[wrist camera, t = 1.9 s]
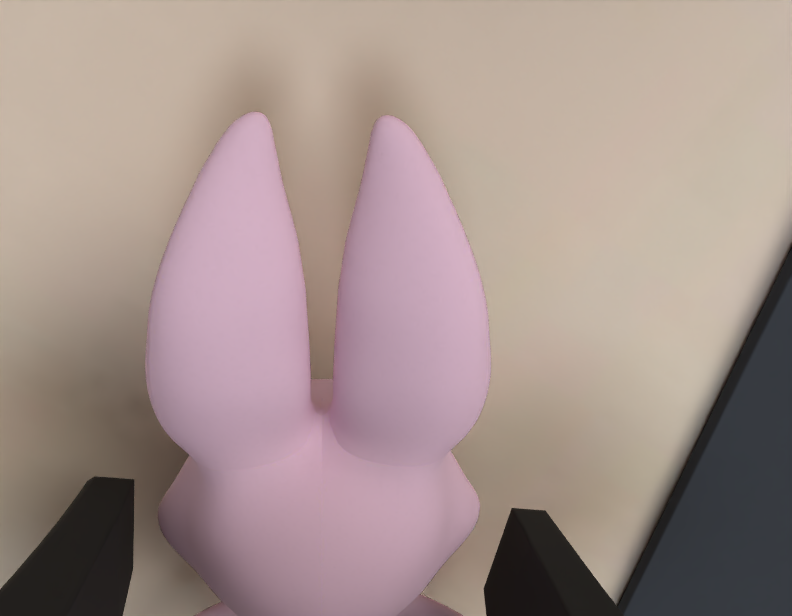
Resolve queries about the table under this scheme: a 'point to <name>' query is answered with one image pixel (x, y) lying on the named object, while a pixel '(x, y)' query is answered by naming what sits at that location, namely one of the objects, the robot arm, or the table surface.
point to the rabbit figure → (318, 387)
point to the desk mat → (732, 492)
